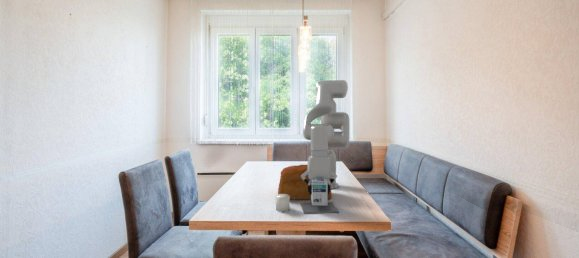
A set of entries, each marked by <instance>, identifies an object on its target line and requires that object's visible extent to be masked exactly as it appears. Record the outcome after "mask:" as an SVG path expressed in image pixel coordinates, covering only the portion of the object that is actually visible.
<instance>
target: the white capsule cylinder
mask: <svg viewBox="0 0 579 258" xmlns="http://www.w3.org/2000/svg"><path fill="white" fill-rule="evenodd" d="M290 201H291V199H290V196H289V195H287V194H278V193H277V194H276V195H275V211H277V212H280V213H286V212H289V211H290V208H291V207H290V204H291V203H290Z"/></svg>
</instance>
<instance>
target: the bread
mask: <svg viewBox="0 0 579 258" xmlns="http://www.w3.org/2000/svg"><path fill="white" fill-rule="evenodd" d="M307 165H308V164H299V165H291V166H290V165H289V166H286V167H284V168H283V169H282V170H281V171H280V175H279V176H280V178H279V183H278V188H277V195H278V194H287V195H289V196H290V200H311V195H310V194H309V192H308V184H307V183H306V182H305V181H304V180H303V179H302V178H301V175H302V174H303V173H305V172H306V171H307ZM305 178H306V179H307V180H308V179H309V178H308V177H307V175H306V176H305ZM331 199H333V197H332V189H331V187H330V192H329V194H328V200H331ZM311 201H312V200H311Z"/></svg>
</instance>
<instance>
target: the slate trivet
mask: <svg viewBox="0 0 579 258" xmlns="http://www.w3.org/2000/svg"><path fill="white" fill-rule="evenodd" d="M299 204H300V207H301V210H302V212H303V214H305V215H307V214H309V215H310V214H311V215H312V214H313V215H314V214H337V213H340V211H339V209H338V208H337V207H336V205H335V204H334V202H332V201H328V205H327V206H326V205H312V202H300V203H299Z"/></svg>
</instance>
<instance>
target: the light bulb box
mask: <svg viewBox="0 0 579 258" xmlns="http://www.w3.org/2000/svg"><path fill="white" fill-rule="evenodd" d="M311 186H312V194H311V203H312V205H326V206H327V205H328V202H329V199H328V181H327V179H312V183H311Z"/></svg>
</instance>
